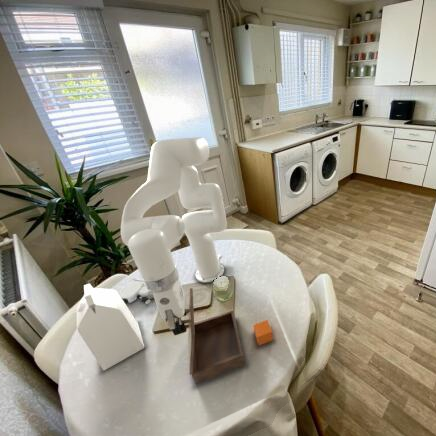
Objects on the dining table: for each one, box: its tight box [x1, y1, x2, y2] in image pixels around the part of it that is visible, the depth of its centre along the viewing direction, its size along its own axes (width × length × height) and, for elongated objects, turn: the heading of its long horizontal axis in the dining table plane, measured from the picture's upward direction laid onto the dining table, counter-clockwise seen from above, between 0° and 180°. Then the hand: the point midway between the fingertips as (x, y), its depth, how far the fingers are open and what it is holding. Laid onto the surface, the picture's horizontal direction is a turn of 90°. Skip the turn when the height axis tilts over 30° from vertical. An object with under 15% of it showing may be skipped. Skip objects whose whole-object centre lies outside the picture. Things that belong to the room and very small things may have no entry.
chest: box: [191, 310, 246, 385], centre depth 78 cm, size 15×18×5 cm
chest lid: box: [174, 287, 195, 376], centre depth 70 cm, size 15×18×5 cm
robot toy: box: [118, 278, 154, 305], centre depth 99 cm, size 12×4×15 cm
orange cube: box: [252, 319, 274, 346], centre depth 80 cm, size 5×5×5 cm
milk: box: [75, 283, 145, 371], centre depth 75 cm, size 12×12×26 cm
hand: (180, 323), depth 68 cm, fingers closed on chest lid, 5 cm apart
